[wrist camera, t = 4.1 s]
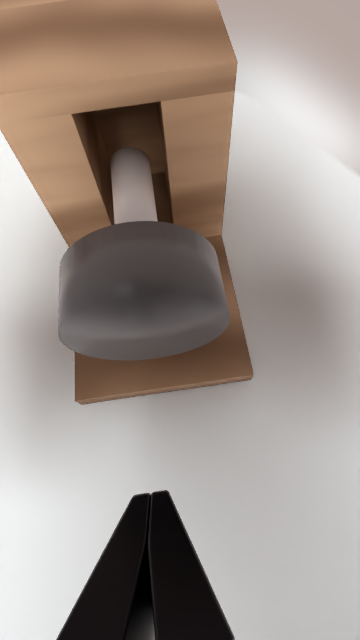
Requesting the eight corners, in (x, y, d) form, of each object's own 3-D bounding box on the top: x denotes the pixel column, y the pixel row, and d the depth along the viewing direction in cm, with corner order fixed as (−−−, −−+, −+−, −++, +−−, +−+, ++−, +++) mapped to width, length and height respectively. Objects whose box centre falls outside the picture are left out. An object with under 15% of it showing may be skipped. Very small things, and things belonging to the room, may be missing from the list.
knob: (224, 348, 15) (238, 277, 9) (89, 368, 15) (24, 308, 9) (195, 202, 18) (193, 88, 13) (86, 218, 18) (37, 110, 13)
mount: (250, 379, 18) (310, 273, 8) (81, 404, 18) (-59, 326, 8) (202, 163, 24) (203, -36, 15) (78, 181, 24) (-1, -8, 15)
